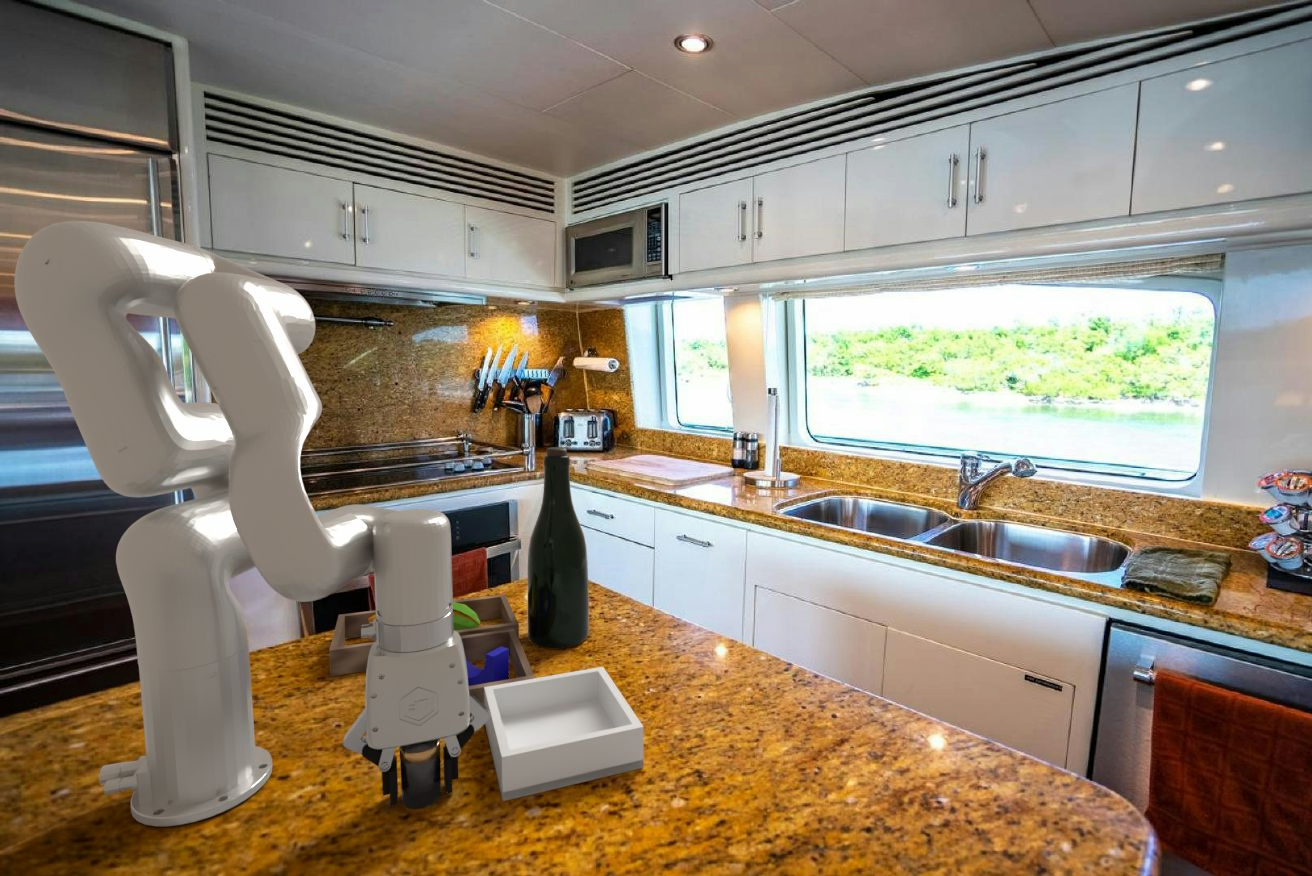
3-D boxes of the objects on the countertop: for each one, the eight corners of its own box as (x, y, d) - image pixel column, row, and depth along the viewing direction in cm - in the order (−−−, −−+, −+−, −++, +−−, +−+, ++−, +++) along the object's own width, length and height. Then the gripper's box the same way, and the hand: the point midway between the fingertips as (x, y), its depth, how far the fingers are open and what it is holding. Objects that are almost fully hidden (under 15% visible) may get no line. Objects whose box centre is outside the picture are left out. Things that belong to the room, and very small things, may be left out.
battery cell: (401, 813, 66) (398, 744, 65) (401, 789, 69) (398, 723, 69) (442, 803, 67) (440, 736, 66) (440, 780, 71) (438, 716, 70)
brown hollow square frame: (393, 733, 80) (392, 703, 80) (395, 670, 97) (394, 645, 96) (535, 706, 87) (535, 678, 86) (514, 652, 103) (514, 628, 103)
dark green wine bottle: (541, 623, 115) (538, 443, 112) (596, 628, 113) (595, 444, 110) (517, 647, 105) (514, 450, 101) (578, 653, 103) (576, 452, 99)
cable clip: (427, 680, 94) (426, 641, 93) (451, 668, 98) (450, 631, 97) (486, 702, 88) (485, 660, 87) (509, 688, 92) (508, 648, 91)
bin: (502, 801, 67) (501, 757, 67) (484, 723, 82) (484, 687, 82) (643, 767, 73) (643, 726, 73) (603, 701, 88) (603, 666, 88)
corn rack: (330, 676, 95) (329, 650, 94) (339, 637, 109) (338, 614, 108) (519, 647, 105) (518, 624, 105) (505, 615, 119) (505, 594, 118)
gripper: (320, 657, 60) (329, 836, 62) (503, 630, 66) (507, 794, 68) (328, 627, 67) (337, 789, 68) (494, 606, 73) (497, 755, 75)
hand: (421, 790), depth 68 cm, fingers open, 4 cm apart
